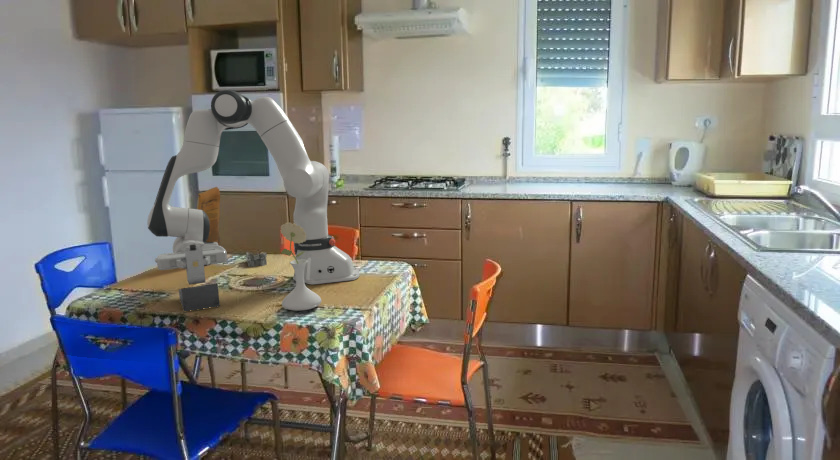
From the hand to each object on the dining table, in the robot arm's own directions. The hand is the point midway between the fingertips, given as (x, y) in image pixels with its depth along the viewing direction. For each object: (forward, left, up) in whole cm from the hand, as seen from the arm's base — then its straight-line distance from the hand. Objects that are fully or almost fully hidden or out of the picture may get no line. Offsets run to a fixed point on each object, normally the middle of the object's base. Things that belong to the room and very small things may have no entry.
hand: (195, 264), depth 186 cm
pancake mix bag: (+8, -54, -13) cm, 56 cm away
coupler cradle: (0, -1, -12) cm, 12 cm away
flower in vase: (-31, +9, -13) cm, 34 cm away
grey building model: (-10, -49, -13) cm, 51 cm away
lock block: (0, -1, -5) cm, 6 cm away
